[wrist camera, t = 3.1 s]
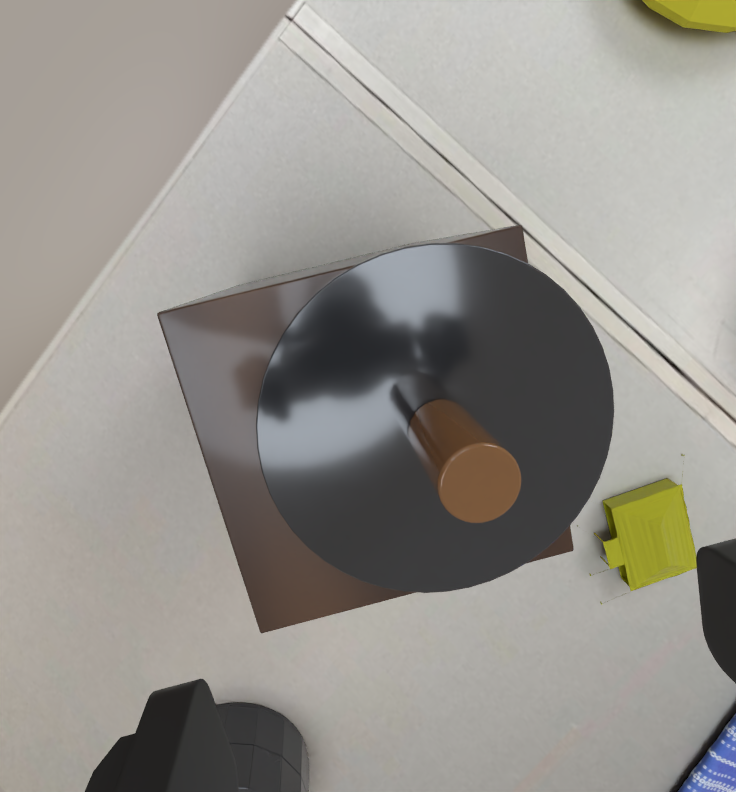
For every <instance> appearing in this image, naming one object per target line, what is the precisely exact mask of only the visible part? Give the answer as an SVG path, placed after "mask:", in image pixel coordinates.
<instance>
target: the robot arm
mask: <svg viewBox="0 0 736 792" xmlns="http://www.w3.org/2000/svg"><path fill="white" fill-rule="evenodd" d="M696 564H697V574H698V584H699V594H700V605H701V615H702V625H703V632H704V636H705V639H706V642H707V645H708V647H709V649H710V651H711V653H712V655H713V657H714V658H715V660H716V662H717V663H718V665H719V666H720V667H721V668H722V670H723V671H724V672H725V673H726V674H727V675H728V676H729V677H730V678H731V679H732V680H733V681H734V682H735V683H736V539H732V540H728V541H724V542H720V543H717V544H713V545H709V546H705V547H702V548H700V549H699V551H698V552H697V557H696ZM85 792H239V788H238V774H237V768H236V762H235V758H234V755H233V752H232V749H231V746H230V744H229V741H228V738H227V735H226V732H225V730H224V727H223V724H222V721H221V719H220V716H219V713H218V710H217V707H216V705H215V702H214V699H213V696H212V694H211V691H210V688H209V686H208V684H207V683H206V681H205V680H203V679H199V680H195V681H191V682H187V683H183V684H180V685H176V686H172V687H168V688H165V689H161V690H157V691H154V692H153V693H152V694H151V695H150V696H149V699H148V701H147V704H146V706H145V709H144V712H143V714H142V717H141V720H140V722H139V725H138V728H137V730H136V733H135V734H132V735H128V736H124V737H121V738H120V739H119V740H118V741H117V742H116V744H115V745H114V746H113V747H112V749H111V750H110V751H109V752H108V754H107V755H106V756H105V758H104V759H103V760H102V761H101V763H100V764H99V765H98V766H97V768H96V769H95V770H94V772H93V774H92V776H91V778H90V781H89V783H88V785H87V788H86V790H85Z"/></svg>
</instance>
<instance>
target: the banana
mask: <svg viewBox="0 0 736 792" xmlns="http://www.w3.org/2000/svg"><path fill="white" fill-rule="evenodd" d="M642 1H643V2H644V3H645V4H646V5H647V6H648V7H649V8H650V9H652V10H654V11H655V12H657V13H659V14H661V15H662V16H664V17H666V18H668V19H669V20H671V21H673V22H675V23H676V24H678V25H680V26H682V27H684V28H692V29H700V30H708V31H716V32H724V33H728V32H732V31H736V0H642Z"/></svg>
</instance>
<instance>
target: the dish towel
mask: <svg viewBox="0 0 736 792" xmlns="http://www.w3.org/2000/svg"><path fill="white" fill-rule="evenodd" d="M678 792H736V714H735V715H734V716H733V717H732V719H731V720H730V721H729V723H728V724H727V725H726V726H725V728H724V730H723V731H722V733H721V734H720V735H719V737H718V739H717V740H716V741H715V742H714V743H713V745H712V746H711V747H710V748H709V749H708V751H707V753H706V754H705V756H704V757H703V758H702V760H701V761H700V762H699V763H698V765H697V766H696V767H695V768H694V769H693V770H692V771H691V773H690V775H689V777H688V778H687V779H686V781H685V782H684V783H683V785H682V786H681V788H680V789H679V791H678Z"/></svg>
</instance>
